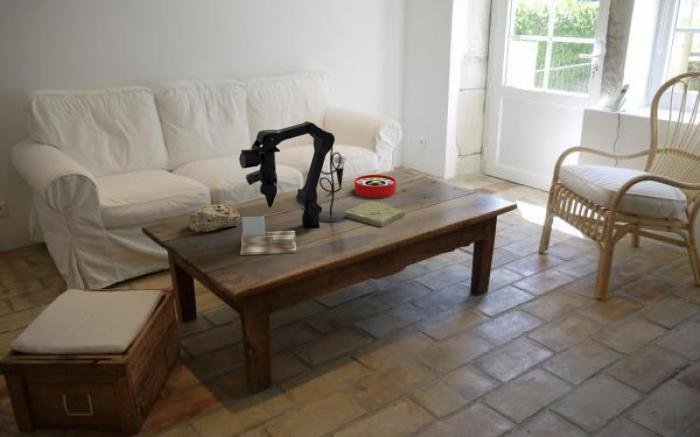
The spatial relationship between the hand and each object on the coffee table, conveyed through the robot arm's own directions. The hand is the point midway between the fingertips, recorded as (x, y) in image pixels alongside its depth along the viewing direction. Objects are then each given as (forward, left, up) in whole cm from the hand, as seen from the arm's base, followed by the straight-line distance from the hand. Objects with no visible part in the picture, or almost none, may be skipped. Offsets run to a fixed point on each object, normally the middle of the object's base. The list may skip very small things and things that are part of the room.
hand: (270, 203), depth 222 cm
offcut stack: (-4, +15, -12) cm, 20 cm away
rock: (+23, -12, -13) cm, 29 cm away
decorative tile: (-44, -16, -14) cm, 49 cm away
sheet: (+6, +10, -12) cm, 17 cm away
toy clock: (-49, -50, -13) cm, 71 cm away
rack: (+1, +12, -13) cm, 18 cm away
